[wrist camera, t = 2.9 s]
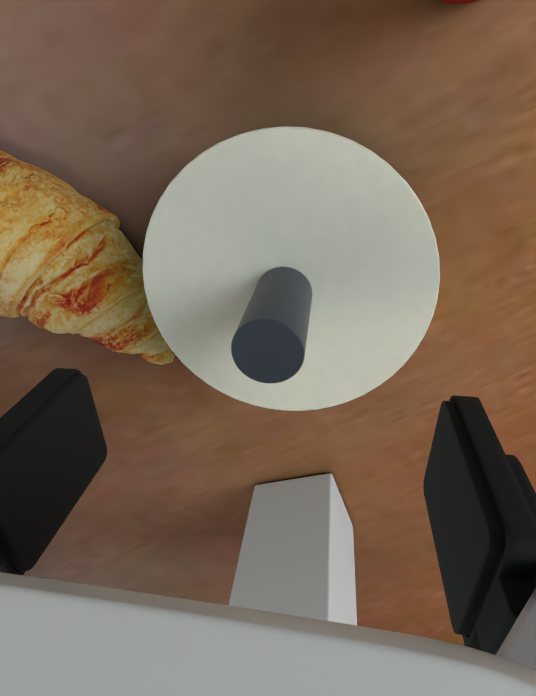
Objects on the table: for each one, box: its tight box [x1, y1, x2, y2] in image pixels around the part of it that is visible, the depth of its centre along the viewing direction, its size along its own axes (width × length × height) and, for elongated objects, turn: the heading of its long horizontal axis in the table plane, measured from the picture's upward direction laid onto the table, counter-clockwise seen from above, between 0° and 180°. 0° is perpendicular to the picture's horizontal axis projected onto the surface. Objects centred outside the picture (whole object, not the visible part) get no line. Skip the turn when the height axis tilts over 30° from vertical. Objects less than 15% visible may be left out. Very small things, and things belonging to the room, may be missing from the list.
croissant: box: [0, 150, 175, 365], centre depth 26 cm, size 21×10×8 cm, turn 47°
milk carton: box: [228, 473, 357, 625], centre depth 30 cm, size 7×7×19 cm
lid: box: [143, 126, 440, 411], centre depth 18 cm, size 14×14×7 cm
